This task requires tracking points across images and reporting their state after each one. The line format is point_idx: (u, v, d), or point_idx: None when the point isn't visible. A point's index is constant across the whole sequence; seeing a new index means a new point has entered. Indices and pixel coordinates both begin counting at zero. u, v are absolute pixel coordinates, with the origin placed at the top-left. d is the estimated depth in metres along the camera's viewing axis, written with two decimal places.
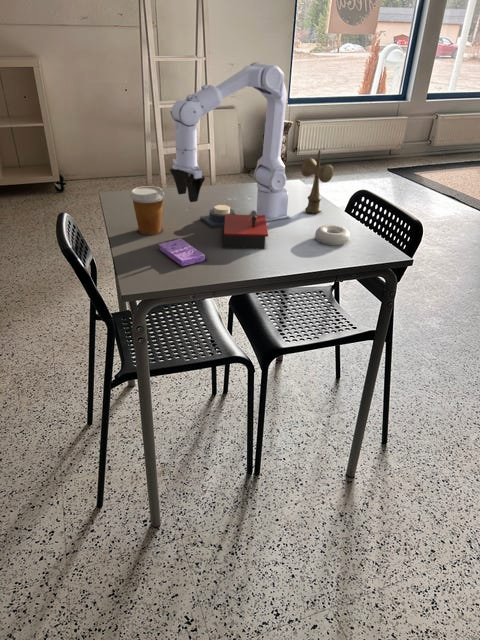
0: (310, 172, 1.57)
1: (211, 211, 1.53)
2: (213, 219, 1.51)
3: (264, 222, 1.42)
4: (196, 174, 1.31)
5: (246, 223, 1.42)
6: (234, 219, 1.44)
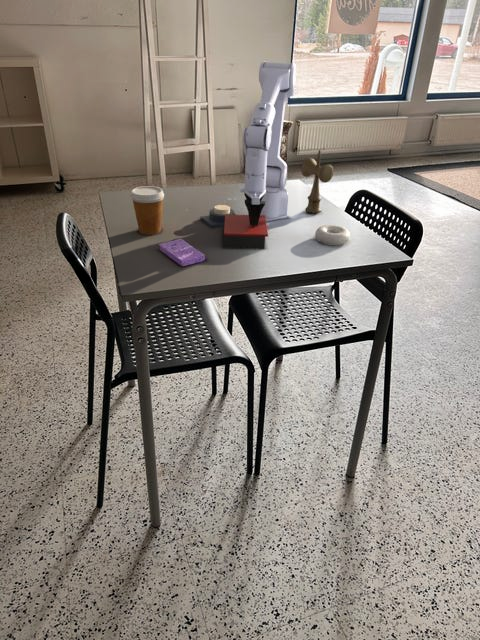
0: (310, 172, 1.57)
1: (211, 211, 1.53)
2: (213, 219, 1.51)
3: (264, 222, 1.42)
4: (253, 200, 1.30)
5: (246, 223, 1.42)
6: (234, 219, 1.44)
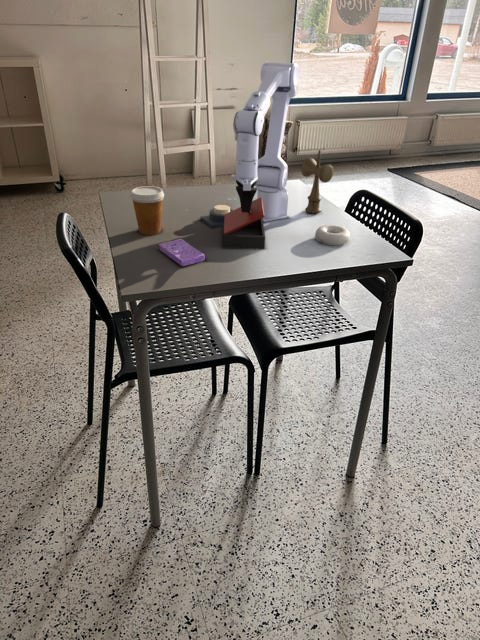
0: (310, 172, 1.57)
1: (211, 211, 1.53)
2: (213, 219, 1.51)
3: (260, 204, 1.40)
4: (244, 186, 1.28)
5: (243, 213, 1.40)
6: (232, 215, 1.43)
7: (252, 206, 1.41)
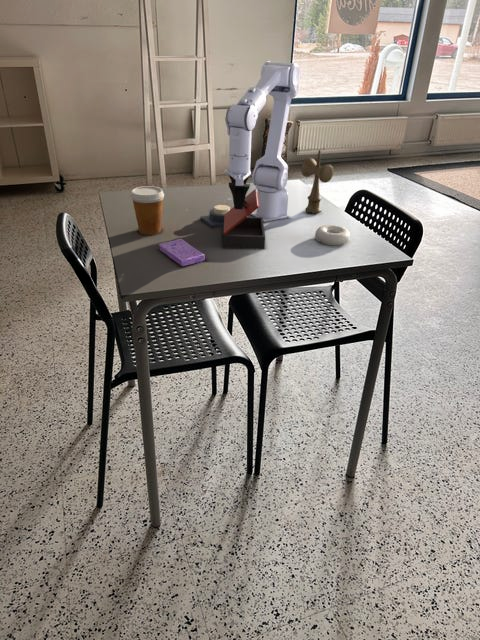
0: (310, 172, 1.57)
1: (211, 211, 1.53)
2: (213, 219, 1.51)
3: (254, 196, 1.38)
4: (237, 181, 1.27)
5: (240, 209, 1.39)
6: (231, 213, 1.43)
7: (247, 200, 1.40)
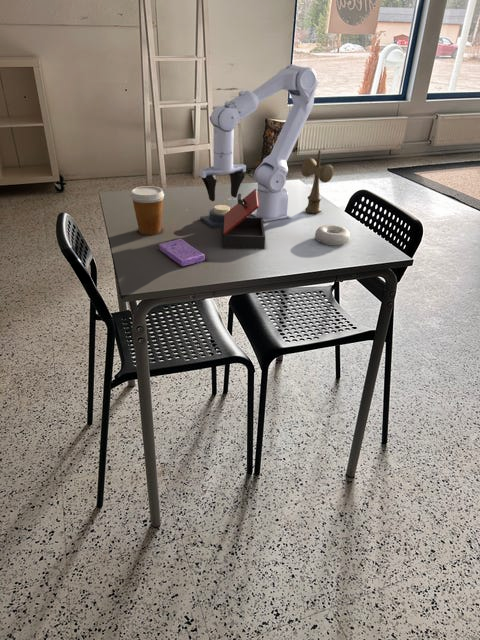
0: (310, 172, 1.57)
1: (211, 211, 1.53)
2: (213, 219, 1.51)
3: (254, 196, 1.38)
4: (200, 172, 1.42)
5: (240, 209, 1.39)
6: (231, 213, 1.43)
7: (247, 200, 1.40)
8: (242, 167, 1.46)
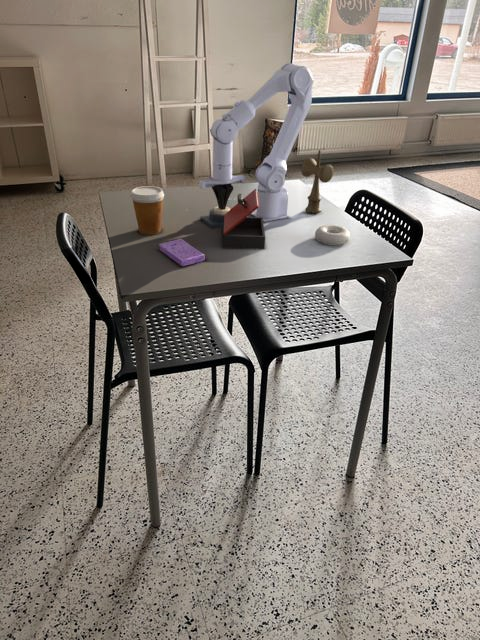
0: (310, 172, 1.57)
1: (211, 211, 1.53)
2: (213, 219, 1.51)
3: (254, 196, 1.38)
4: (199, 183, 1.45)
5: (240, 209, 1.39)
6: (231, 213, 1.43)
7: (247, 200, 1.40)
8: (241, 178, 1.50)
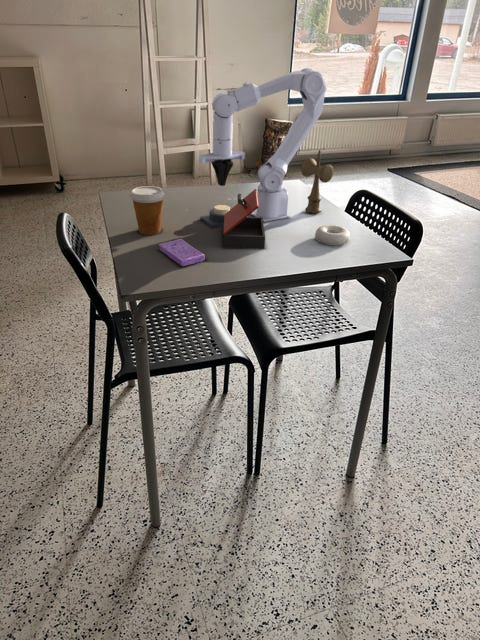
0: (310, 172, 1.57)
1: (211, 211, 1.53)
2: (213, 219, 1.51)
3: (254, 196, 1.38)
4: (199, 158, 1.44)
5: (240, 209, 1.39)
6: (231, 213, 1.43)
7: (247, 200, 1.40)
8: (241, 154, 1.49)
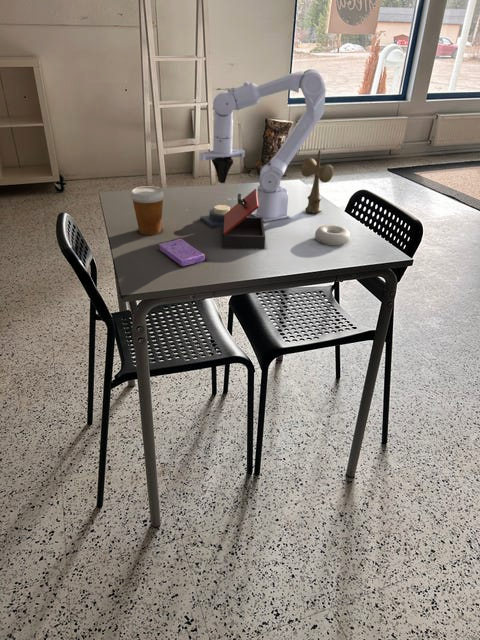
0: (310, 172, 1.57)
1: (211, 211, 1.53)
2: (213, 219, 1.51)
3: (254, 196, 1.38)
4: (200, 155, 1.47)
5: (240, 209, 1.39)
6: (231, 213, 1.43)
7: (247, 200, 1.40)
8: (241, 152, 1.51)
